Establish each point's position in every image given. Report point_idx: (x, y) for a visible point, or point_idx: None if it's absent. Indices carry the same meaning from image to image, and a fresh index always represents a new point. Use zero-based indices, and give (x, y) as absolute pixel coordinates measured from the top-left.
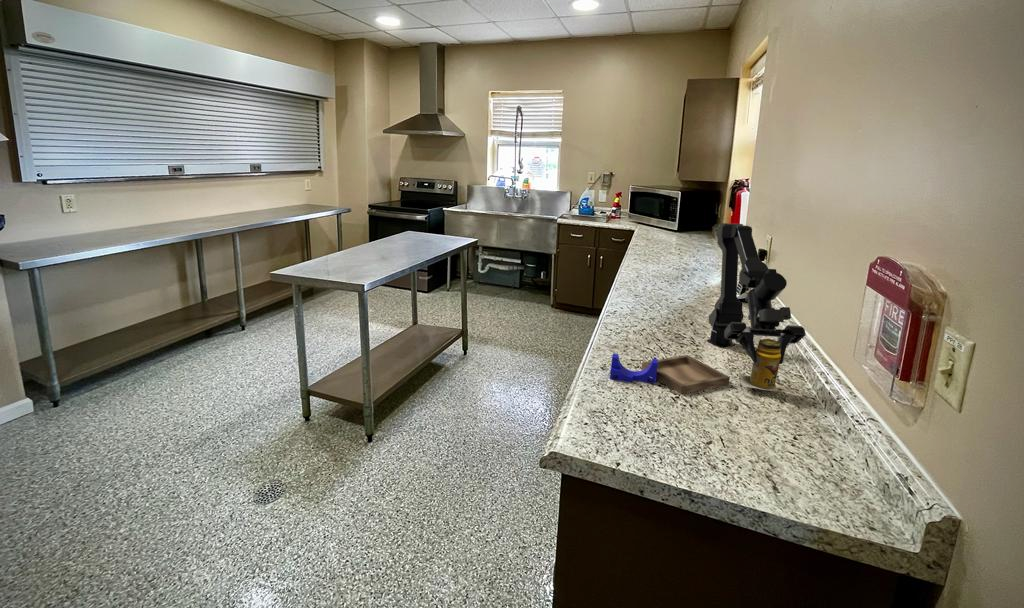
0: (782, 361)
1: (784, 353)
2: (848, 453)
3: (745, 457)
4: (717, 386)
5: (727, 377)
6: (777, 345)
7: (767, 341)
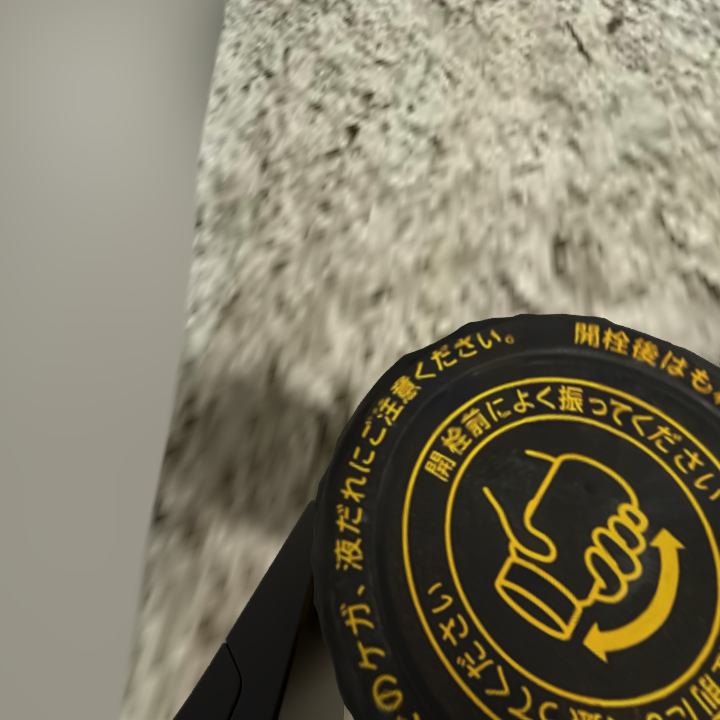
0: (309, 507)
1: (258, 588)
2: (215, 113)
3: (506, 6)
4: None
5: None
6: (419, 378)
7: (667, 632)
